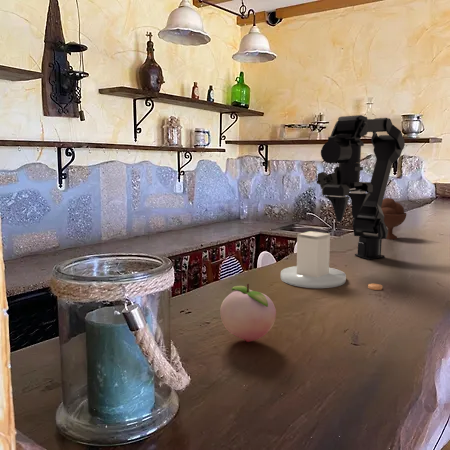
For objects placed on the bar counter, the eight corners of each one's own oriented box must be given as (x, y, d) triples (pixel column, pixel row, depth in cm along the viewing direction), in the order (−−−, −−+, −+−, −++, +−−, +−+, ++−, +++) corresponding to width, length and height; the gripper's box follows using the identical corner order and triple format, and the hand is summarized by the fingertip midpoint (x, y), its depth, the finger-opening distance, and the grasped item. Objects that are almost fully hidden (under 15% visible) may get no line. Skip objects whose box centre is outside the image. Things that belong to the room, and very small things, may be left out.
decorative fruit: (209, 341, 75) (208, 283, 73) (242, 328, 80) (242, 274, 79) (250, 359, 68) (251, 296, 67) (284, 343, 74) (285, 284, 72)
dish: (317, 268, 123) (317, 263, 123) (359, 282, 109) (360, 276, 109) (268, 275, 116) (268, 269, 116) (306, 291, 102) (306, 285, 102)
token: (375, 285, 107) (375, 282, 107) (385, 288, 104) (385, 286, 104) (364, 287, 105) (365, 284, 105) (375, 290, 103) (375, 288, 102)
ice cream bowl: (386, 241, 161) (388, 199, 159) (368, 236, 172) (370, 197, 170) (411, 239, 164) (414, 199, 162) (392, 234, 175) (394, 196, 172)
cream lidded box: (309, 269, 116) (309, 231, 115) (328, 273, 112) (330, 233, 111) (296, 273, 112) (297, 234, 111) (316, 277, 108) (317, 236, 107)
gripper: (338, 162, 134) (337, 214, 137) (305, 163, 120) (304, 220, 123) (374, 162, 127) (372, 217, 129) (343, 163, 113) (341, 224, 115)
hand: (347, 219), depth 124 cm, fingers open, 9 cm apart
